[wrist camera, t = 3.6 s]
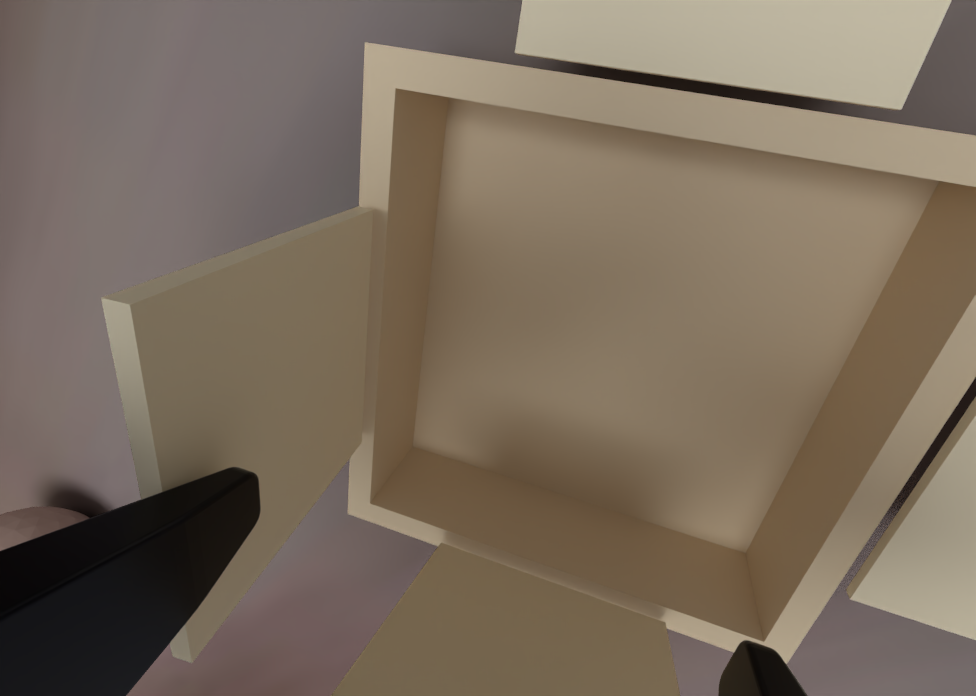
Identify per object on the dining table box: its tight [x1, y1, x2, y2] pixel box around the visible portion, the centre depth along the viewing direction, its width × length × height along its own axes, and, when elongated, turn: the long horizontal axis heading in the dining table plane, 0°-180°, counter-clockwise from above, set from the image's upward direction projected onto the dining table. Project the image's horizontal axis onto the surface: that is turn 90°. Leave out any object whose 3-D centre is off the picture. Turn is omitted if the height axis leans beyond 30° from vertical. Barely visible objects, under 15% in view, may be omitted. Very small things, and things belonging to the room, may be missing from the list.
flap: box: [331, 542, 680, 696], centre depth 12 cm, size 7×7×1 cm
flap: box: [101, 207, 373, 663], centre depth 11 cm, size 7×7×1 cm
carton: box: [348, 0, 976, 664], centre depth 12 cm, size 21×21×4 cm
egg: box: [0, 507, 89, 551], centre depth 27 cm, size 7×7×8 cm
